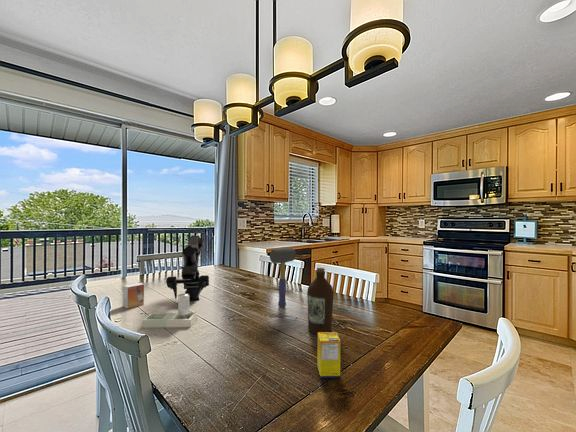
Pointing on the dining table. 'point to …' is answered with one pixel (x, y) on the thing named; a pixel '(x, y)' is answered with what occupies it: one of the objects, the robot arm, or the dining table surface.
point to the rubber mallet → (282, 269)
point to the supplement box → (328, 355)
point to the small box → (133, 295)
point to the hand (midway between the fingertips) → (186, 297)
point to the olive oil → (320, 304)
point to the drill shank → (183, 306)
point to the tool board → (167, 320)
